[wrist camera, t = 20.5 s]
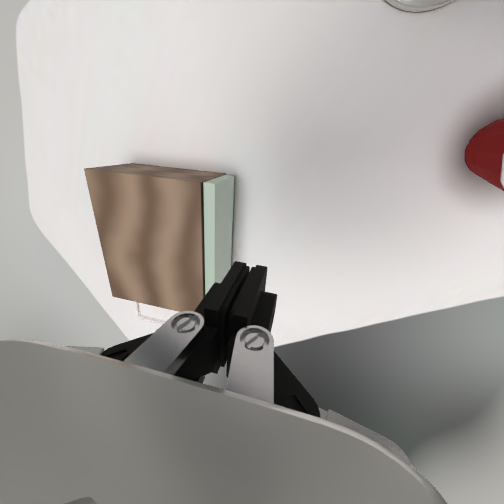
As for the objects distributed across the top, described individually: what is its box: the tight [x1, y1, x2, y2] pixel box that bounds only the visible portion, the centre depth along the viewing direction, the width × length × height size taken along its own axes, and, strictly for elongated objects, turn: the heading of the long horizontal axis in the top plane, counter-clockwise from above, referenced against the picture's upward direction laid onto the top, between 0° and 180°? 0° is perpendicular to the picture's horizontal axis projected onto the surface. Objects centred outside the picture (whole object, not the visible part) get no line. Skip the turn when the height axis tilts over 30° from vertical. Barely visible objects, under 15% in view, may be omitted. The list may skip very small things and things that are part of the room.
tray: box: [203, 175, 234, 295], centre depth 36 cm, size 16×20×8 cm
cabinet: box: [84, 163, 226, 312], centre depth 37 cm, size 16×20×9 cm
